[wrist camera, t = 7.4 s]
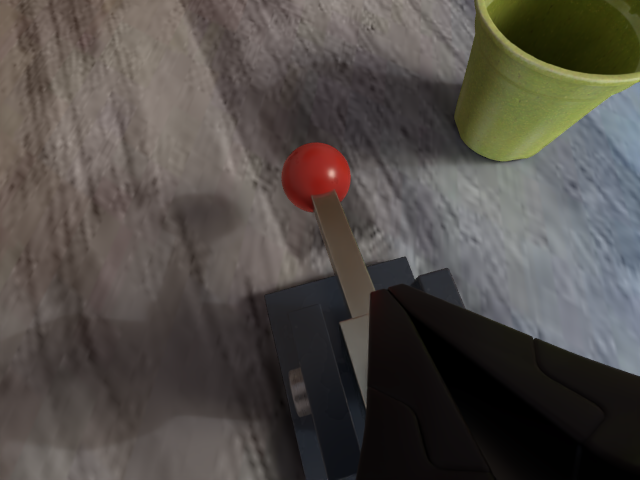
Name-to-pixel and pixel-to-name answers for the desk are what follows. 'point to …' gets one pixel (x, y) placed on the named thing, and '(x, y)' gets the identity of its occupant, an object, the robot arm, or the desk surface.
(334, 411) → the dark grey lever stand
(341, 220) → the red-knobbed lever handle
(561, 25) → the plant pot
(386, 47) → the desk surface
